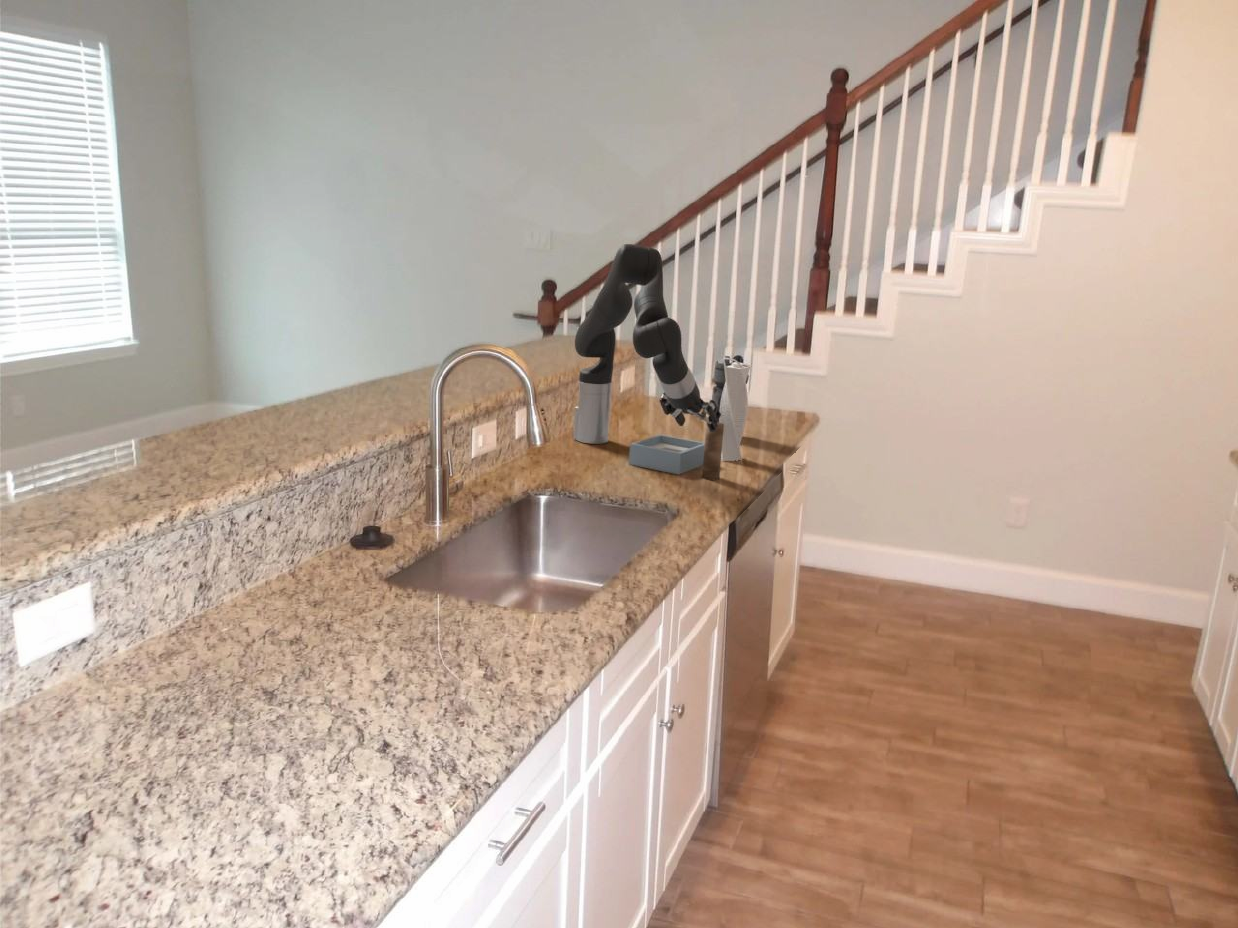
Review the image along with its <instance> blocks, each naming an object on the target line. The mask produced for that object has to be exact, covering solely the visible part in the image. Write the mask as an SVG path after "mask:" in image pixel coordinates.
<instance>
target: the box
mask: <svg viewBox="0 0 1238 928" xmlns="http://www.w3.org/2000/svg"><path fill="white" fill-rule="evenodd" d="M704 447H705V441H704V442H703V441H698V440H697V441H696V440H693V439H692V440H691V439H688V438H687V439H686V438H682V437H681V438H680V437H677V436H671V435H666V434H657V435H654V436H650V437H648V438H644V439H641V440H638V441H635V442H631V443H629V454H628V455H629V456H628V465H631V466H634V467H635V466H636V467H641V468H646V469H650V470H654V471H658V472H659V471H660V472H664V473H665V472H666V473H669V474H675V475H677V476H679V475H682V474H684V473H687V472H689V471H692V470H694V469H697V468H699V467H703V459H704Z"/></svg>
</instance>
